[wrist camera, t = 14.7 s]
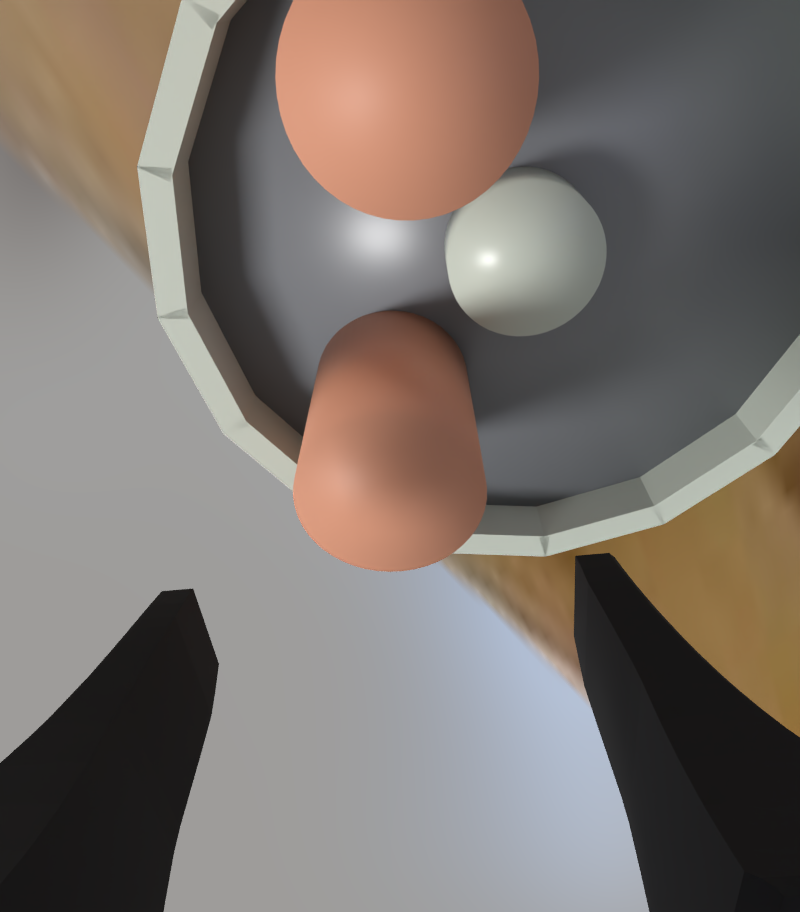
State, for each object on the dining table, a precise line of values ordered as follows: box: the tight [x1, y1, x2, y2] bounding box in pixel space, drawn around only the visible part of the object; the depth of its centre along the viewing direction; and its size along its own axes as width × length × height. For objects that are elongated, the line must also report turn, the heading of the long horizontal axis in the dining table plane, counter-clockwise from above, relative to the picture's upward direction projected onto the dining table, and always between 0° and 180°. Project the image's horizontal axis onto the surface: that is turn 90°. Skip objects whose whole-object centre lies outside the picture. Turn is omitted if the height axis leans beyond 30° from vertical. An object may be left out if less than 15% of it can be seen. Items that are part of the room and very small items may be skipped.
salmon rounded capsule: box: [275, 0, 539, 221], centre depth 15 cm, size 4×4×6 cm
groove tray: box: [137, 0, 800, 556], centre depth 20 cm, size 19×19×2 cm
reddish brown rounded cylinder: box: [293, 311, 487, 572], centre depth 20 cm, size 4×4×6 cm
